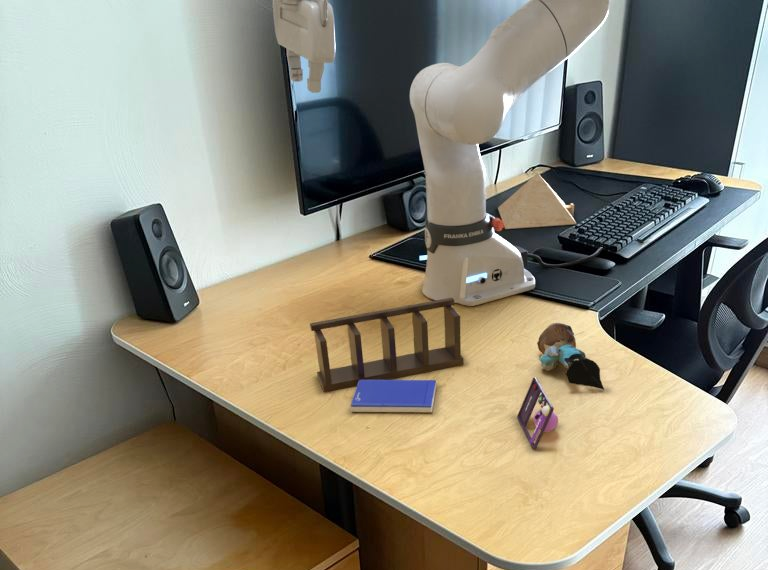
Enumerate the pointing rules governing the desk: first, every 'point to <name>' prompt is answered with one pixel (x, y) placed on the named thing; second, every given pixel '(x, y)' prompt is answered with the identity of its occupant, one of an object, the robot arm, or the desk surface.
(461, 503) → the desk surface
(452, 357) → the letter rack
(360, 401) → the hard drive
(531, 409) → the purple toy package
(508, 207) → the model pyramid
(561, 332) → the figurine
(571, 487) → the desk surface
